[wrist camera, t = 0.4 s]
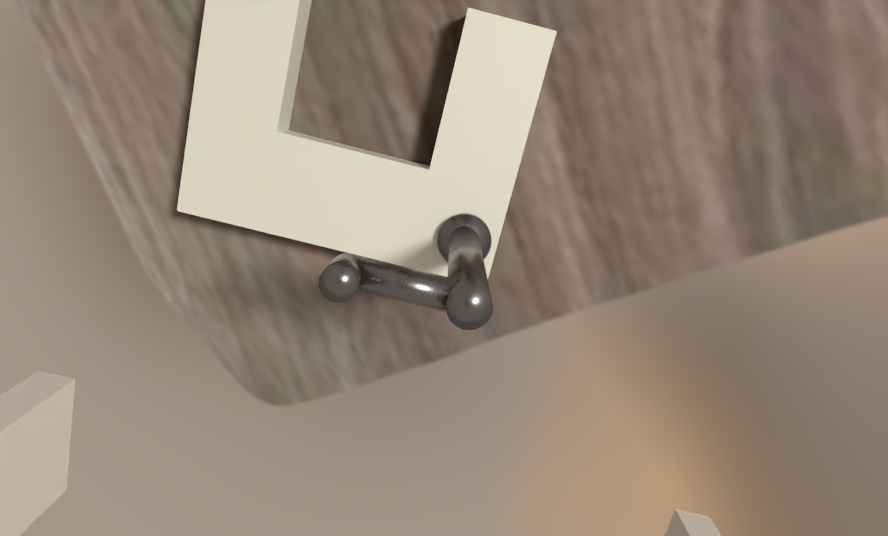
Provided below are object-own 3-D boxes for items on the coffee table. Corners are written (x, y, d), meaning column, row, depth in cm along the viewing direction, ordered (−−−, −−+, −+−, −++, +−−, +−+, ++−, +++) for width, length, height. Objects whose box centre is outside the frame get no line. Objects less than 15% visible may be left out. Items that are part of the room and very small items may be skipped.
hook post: (376, 190, 35) (327, 237, 21) (497, 220, 35) (523, 286, 22) (365, 242, 36) (310, 319, 22) (483, 271, 36) (500, 365, 23)
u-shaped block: (230, -48, 34) (213, -60, 32) (549, 36, 35) (556, 31, 33) (194, 204, 38) (176, 210, 36) (483, 275, 39) (485, 286, 36)
